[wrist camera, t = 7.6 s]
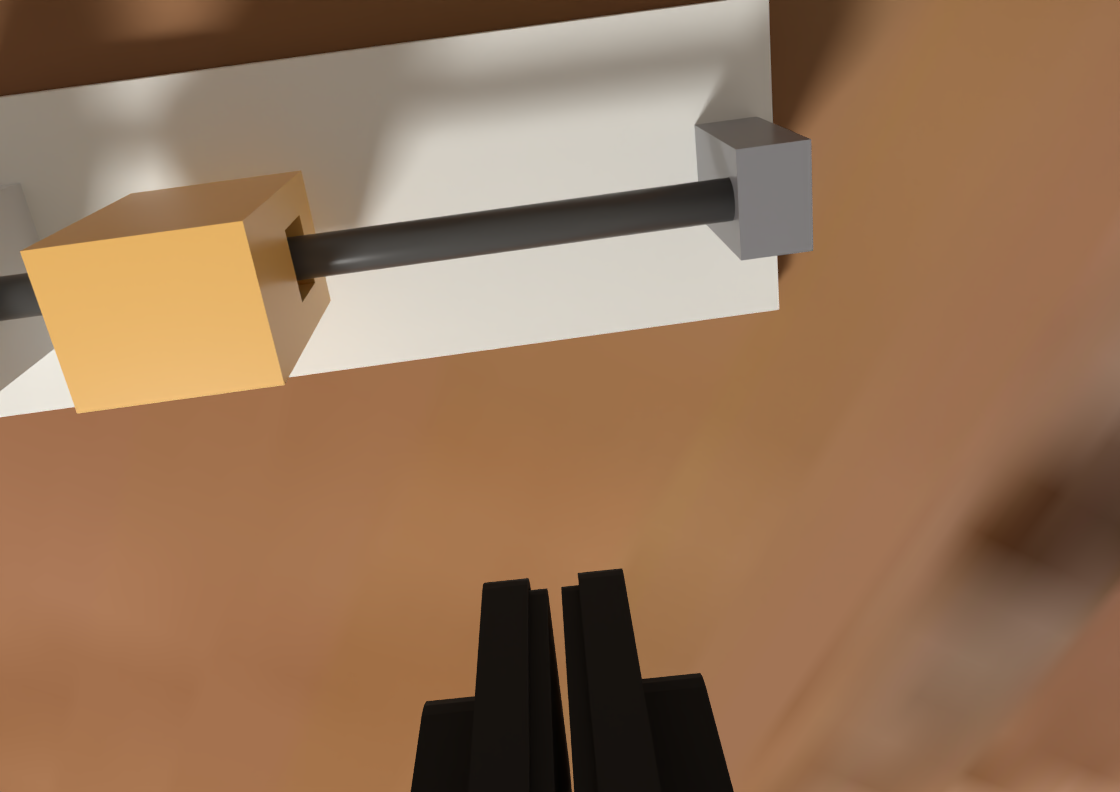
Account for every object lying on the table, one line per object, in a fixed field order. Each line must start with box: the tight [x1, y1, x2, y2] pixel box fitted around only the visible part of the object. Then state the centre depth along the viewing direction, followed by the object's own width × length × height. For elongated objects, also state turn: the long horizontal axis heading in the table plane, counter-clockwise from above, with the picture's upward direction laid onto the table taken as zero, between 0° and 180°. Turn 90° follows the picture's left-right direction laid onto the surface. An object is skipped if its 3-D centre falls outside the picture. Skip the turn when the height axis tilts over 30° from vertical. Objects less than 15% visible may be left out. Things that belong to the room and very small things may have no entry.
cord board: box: [0, 0, 813, 417], centre depth 27 cm, size 27×10×9 cm, turn 97°
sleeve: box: [20, 170, 331, 413], centre depth 25 cm, size 5×4×7 cm
